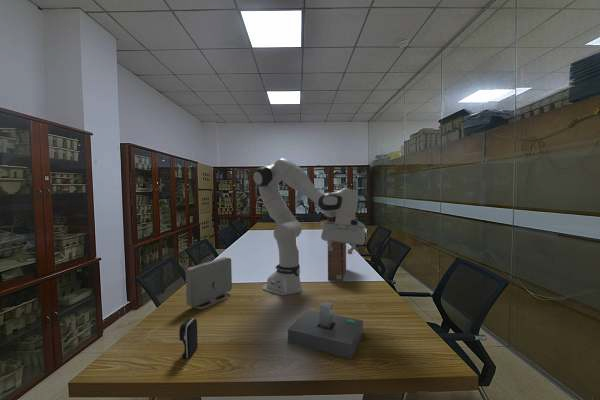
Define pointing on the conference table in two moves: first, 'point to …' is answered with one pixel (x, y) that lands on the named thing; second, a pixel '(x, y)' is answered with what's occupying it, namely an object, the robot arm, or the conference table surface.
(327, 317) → the peg
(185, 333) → the battery charger
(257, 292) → the conference table surface
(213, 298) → the network device
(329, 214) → the robot arm
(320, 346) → the docking mount
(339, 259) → the book
